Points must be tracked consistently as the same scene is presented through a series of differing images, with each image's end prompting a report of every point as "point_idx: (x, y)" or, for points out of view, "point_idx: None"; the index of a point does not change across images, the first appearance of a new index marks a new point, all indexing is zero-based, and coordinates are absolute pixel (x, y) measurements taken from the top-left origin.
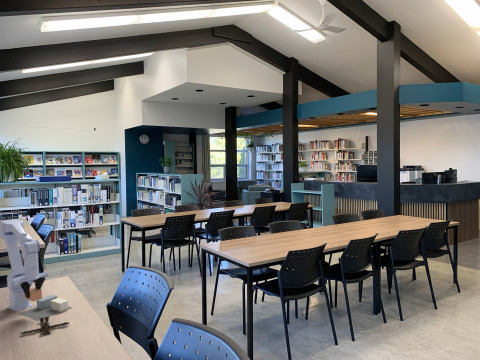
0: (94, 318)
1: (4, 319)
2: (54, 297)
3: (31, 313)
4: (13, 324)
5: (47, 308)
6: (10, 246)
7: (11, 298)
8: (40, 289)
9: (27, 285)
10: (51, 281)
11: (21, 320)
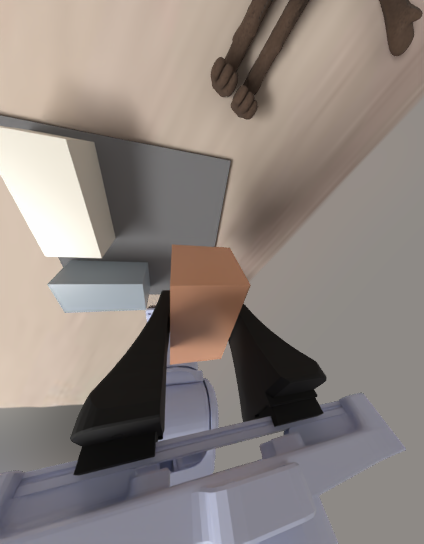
0: None
1: None
2: (66, 282)
3: None
4: (269, 232)
5: (126, 252)
6: None
7: None
8: (154, 314)
9: (303, 368)
10: (34, 400)
11: (238, 239)
